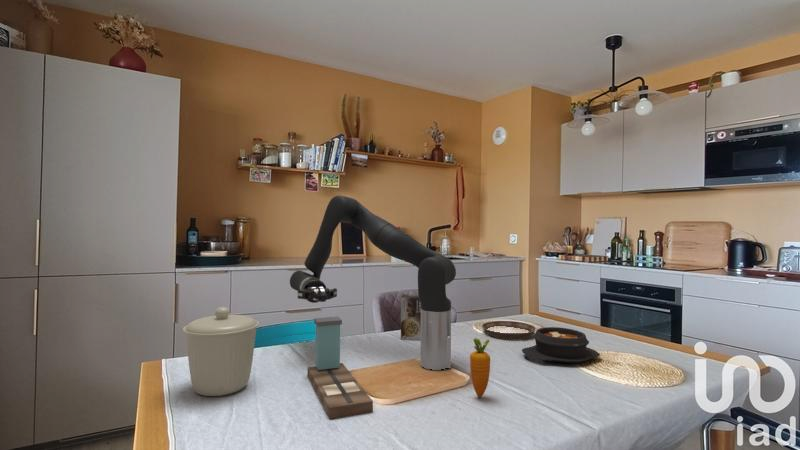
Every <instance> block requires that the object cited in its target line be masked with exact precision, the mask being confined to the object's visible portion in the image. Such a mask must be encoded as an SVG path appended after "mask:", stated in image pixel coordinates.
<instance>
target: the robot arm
mask: <svg viewBox="0 0 800 450" xmlns="http://www.w3.org/2000/svg"><path fill="white" fill-rule="evenodd" d="M341 223H345V224H349V225H351V226H354V227H355V228H357V229H359V230H361V231H362V232H363V233H364V234H365V235H366V237H367V239H368V240H369V242H370V243H371V244H372V245H373V246H375V247H377V248H378V249H379V250H380V251H382V252H383V253H385V254H386V255H388V256H391V257H392V258H396V259H397V260H401V261H403V262H405V263H408V264H411V265H413V266H414V267H417V268H418V269H417V293H418V294H417V295H418V297H419V300H420V303H421V340H420V349H419V351H420V356H419V360H420V362H419V363H420V367H422V368H423V367H424V369H426V370H430V369H432V370H431V371H442V370H441V369H444V370H446V369H445V368H451V369H452V367H451V364H452V363H451V362H452V360H451V359H452V301H451V300H450V299H449V298H448V297H447V291H446V285H449V284H450V283H452V282H453V281H454V280H455V277H456V274H457V270H456V266H455V264H454V262H453V261H452V260H451V259H450V258H448V257H447V256H446V255H443V254H441V253H439V252H437V251H435V250H433V249H430V248H428V247H427V246H425V245H423V243H421V242H420V241H418V240H416V239H415V238H414V237H412V236H411V235H410V234H407V233H406V232H405V231H403V230H402V229H400V228H398V227H397V226H396V225H394V224H392V223H391V222H390V221H387V220H386V219H384V218H382V217H380V216H378V215H377V214H374V213H372V212H371V211H370V210H369V209H368V208H366V207H365V206H364V205H363V204H362V203H361V202H359V201H358V200H356V199H355V198H352V197H349V196H344V195H334V196H333V197H332V198H331V199H330V200H329V202H328V204H327V206H326V209H325V212H324V216H323V218H322V221H321V225H320V226H319V230H318V234H317V235H316V238H315V241H314V243H313V246H312V247H311V249H310V251H309V253H308V255H307V256H306V258H305V261H304V266H305V268H306V269H307V270H309V271H310V272H311V273H313V274H311V273H308V272H305V271H303V270H295V271H294V272H292V274H291V275H290V279H289V285H290V288H291V289H293V290H295V291H297V299H299V300H305V301H307V302H309V303H312V304H313V303H315V304H317V303H319V302H320V303H326V301H329V300H331V299H334V298H336V297H337V296H338V288H336V287H334V288H331V289H330V288H327V286H326V284H325V283H324V282H323V281H322V280H320V279H321V276H322V275H321V274H322V272H323V270H324V267H325V266H326V264H327V262H328V259H330V256H331V253H332V250H333V249H332V248H333V238H334V233H335V231H336V229H337V227H338V226H339V224H341Z"/></svg>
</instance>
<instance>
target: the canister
mask: <svg viewBox="0 0 800 450" xmlns="http://www.w3.org/2000/svg"><path fill="white" fill-rule="evenodd" d="M259 325H260V322H259V320H256V319H254V317H252V316H249V315H243V314H231V313H230V309H229V307H226V306H219V307H218V308H216V309H215V311H214V315H211V316H210V315H208V316H205V317H201V318H197V319H195V320H193V321H191V322H189V323H188V324H186V325H185V326H183V327H182V332H183V333H184V334H185V341H186V343H185V344H186V349H187V350H186V351H187V359H188V367H189V368H188V369H189V374H190V375H189V376H190V381H191V385H192V388H193V391H195V392H196V393H197V394H199V395H201V396H204V397H221V396H223V397H224V396H227V395H230V394H231V395H232V394H234V393H237V392H239V391H241V390H243V389H244V388H245V387H246V386H247V385H248V383H249V380H250V377H251V373H252V366H253V358H254V351H255V350H254V349H255V345H256V344H255V342H256V334H257V328H258V327H259Z"/></svg>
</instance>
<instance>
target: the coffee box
mask: <svg viewBox="0 0 800 450" xmlns="http://www.w3.org/2000/svg"><path fill="white" fill-rule="evenodd" d="M400 340H403V341H404V340H406V341H407V340H408V341H409V340H410V341H411V340H412V341H421V303H420V300H419V297H418V294H405V293H404V294H402V295H401V296H400Z"/></svg>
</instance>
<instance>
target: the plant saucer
mask: <svg viewBox="0 0 800 450" xmlns="http://www.w3.org/2000/svg"><path fill="white" fill-rule="evenodd" d="M494 326H506V327H514V328H520V329H525V330H528V331H529V332H528V333H500V332H494V331H490V330H487V329H488V328H490V327H494ZM481 328H482V330H483V331H484V332H485V334H487V335H488V334H489V335H488V336H491V337H493V338H496V339H502V340H517V341H518V340H525V339H528V338H529V337H531V336H532V335H534V332H536V331H537V328H536V327H535V326H534V325H532V324H529V323H526V322H522V321H521V322H520V321H512V320H496V321H495V320H494V321H486V322H484V323H482V325H481ZM527 337H528V338H527ZM524 338H525V339H524Z"/></svg>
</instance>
